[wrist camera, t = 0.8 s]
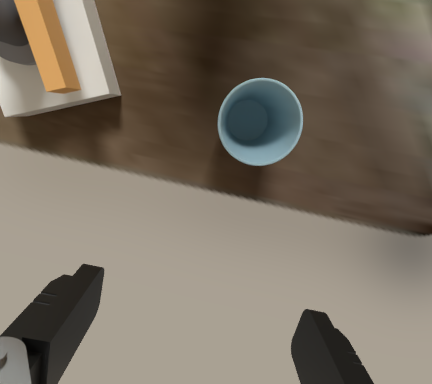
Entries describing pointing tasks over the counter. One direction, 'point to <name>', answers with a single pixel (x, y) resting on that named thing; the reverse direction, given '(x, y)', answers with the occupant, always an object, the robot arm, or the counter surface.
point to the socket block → (82, 60)
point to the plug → (13, 36)
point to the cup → (260, 121)
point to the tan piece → (48, 45)
